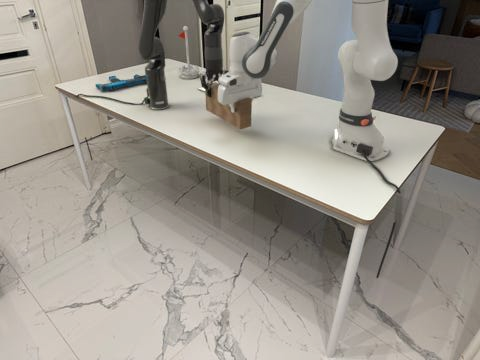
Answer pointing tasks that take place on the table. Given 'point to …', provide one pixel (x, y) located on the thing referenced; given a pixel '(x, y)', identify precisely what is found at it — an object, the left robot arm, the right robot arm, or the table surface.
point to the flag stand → (187, 71)
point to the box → (237, 118)
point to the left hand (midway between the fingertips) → (215, 95)
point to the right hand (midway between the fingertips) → (240, 110)
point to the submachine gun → (121, 82)
